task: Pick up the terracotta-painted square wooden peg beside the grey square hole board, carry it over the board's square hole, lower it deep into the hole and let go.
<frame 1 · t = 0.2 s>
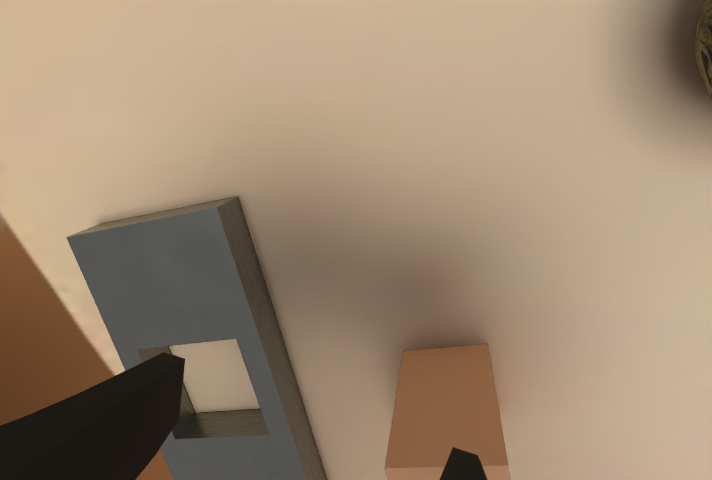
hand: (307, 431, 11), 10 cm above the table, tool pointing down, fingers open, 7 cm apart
square peg: (451, 382, 21), on the table
grey square hole board: (222, 368, 24), on the table
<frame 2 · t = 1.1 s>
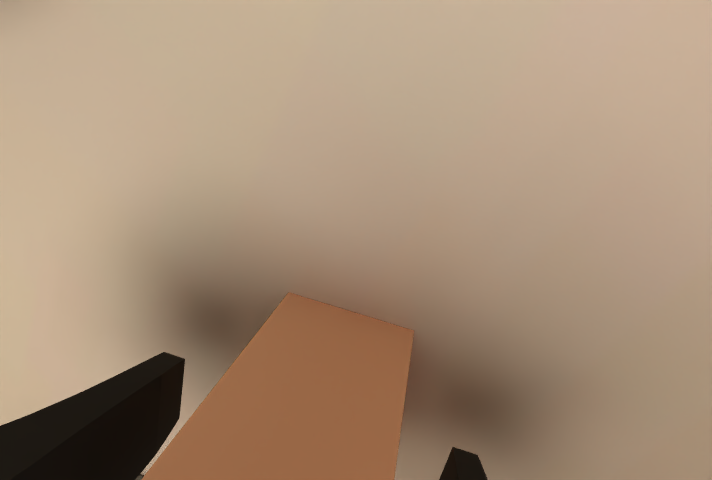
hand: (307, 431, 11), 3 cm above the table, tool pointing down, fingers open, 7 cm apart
square peg: (336, 364, 14), on the table
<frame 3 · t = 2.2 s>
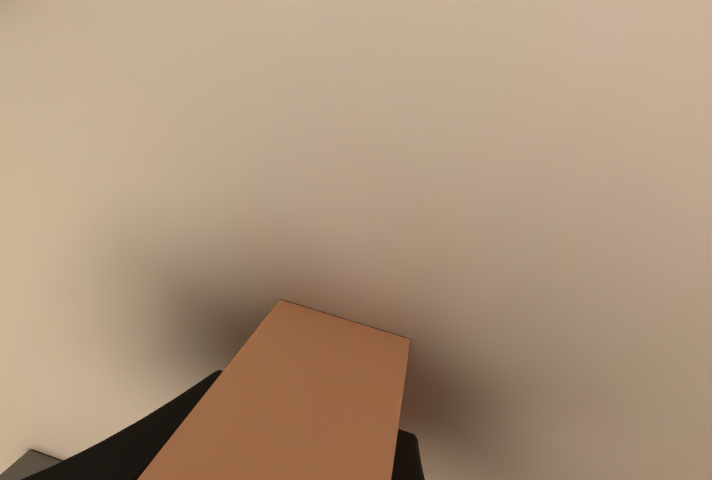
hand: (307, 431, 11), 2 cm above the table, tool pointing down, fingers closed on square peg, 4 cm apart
square peg: (330, 373, 13), on the table, touching gripper
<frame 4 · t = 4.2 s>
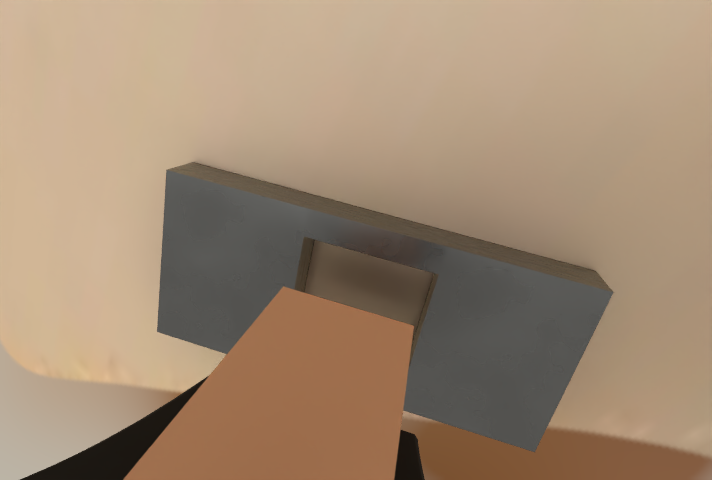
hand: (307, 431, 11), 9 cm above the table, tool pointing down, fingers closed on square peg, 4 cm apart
square peg: (333, 361, 13), point 7 cm above the table, touching gripper
grey square hole board: (363, 293, 20), on the table
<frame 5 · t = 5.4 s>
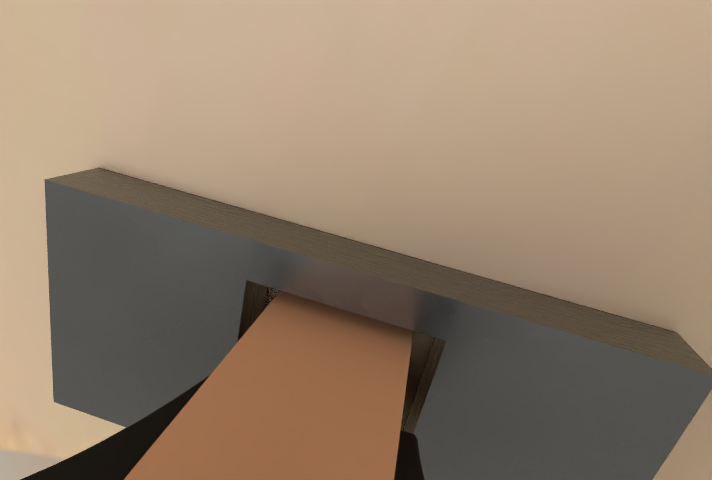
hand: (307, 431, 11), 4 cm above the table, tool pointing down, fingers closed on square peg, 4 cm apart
square peg: (333, 361, 13), point 1 cm above the table, touching gripper
grey square hole board: (339, 352, 14), on the table
when the fingers open (3 cm above the table, at t = 6.3 s): square peg stays where it is, resting in grey square hole board.
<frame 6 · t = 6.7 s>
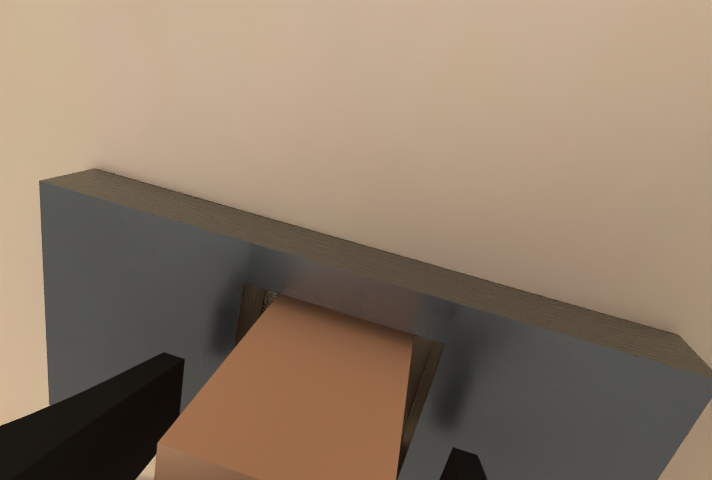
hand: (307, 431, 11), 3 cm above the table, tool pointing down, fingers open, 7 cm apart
square peg: (340, 346, 14), resting in grey square hole board
grey square hole board: (337, 355, 14), on the table
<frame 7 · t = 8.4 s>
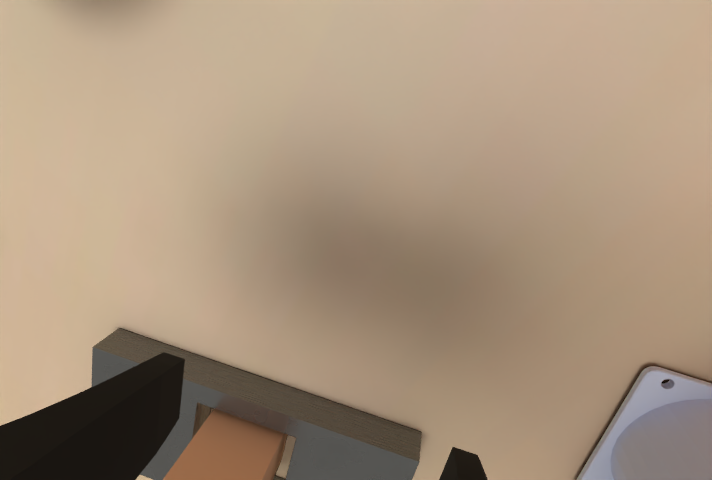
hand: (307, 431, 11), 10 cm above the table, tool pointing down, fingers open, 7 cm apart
square peg: (254, 426, 25), resting in grey square hole board
grey square hole board: (253, 431, 25), on the table
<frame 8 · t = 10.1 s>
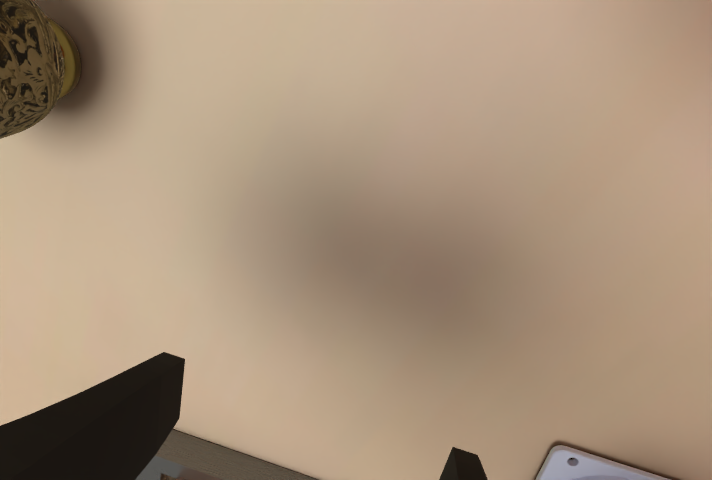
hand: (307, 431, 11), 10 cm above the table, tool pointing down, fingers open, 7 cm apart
cup: (58, 59, 21), on the table
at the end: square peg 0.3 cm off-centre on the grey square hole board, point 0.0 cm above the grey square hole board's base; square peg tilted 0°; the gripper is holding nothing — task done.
